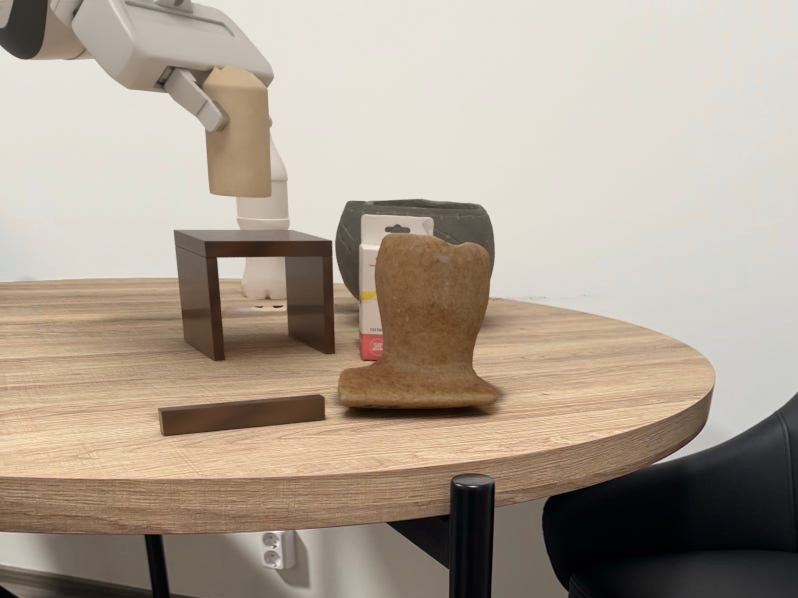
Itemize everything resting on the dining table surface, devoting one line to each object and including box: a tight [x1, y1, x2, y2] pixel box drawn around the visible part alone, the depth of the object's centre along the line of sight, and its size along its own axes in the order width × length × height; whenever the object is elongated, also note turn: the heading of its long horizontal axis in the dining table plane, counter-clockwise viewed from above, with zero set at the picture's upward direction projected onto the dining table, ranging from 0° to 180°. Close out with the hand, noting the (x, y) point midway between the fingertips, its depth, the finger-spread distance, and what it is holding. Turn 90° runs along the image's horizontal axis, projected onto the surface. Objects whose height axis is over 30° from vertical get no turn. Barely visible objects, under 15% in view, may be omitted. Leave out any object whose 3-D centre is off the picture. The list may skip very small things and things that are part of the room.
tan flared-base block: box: [337, 233, 500, 410], centre depth 86 cm, size 15×12×15 cm
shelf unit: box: [173, 229, 336, 362], centre depth 106 cm, size 14×12×12 cm
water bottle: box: [235, 125, 291, 309], centre depth 129 cm, size 7×7×25 cm
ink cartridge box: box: [358, 214, 434, 361], centre depth 104 cm, size 9×5×15 cm, turn 100°
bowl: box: [334, 198, 496, 302], centre depth 124 cm, size 21×21×15 cm
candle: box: [202, 66, 272, 198], centre depth 83 cm, size 6×6×10 cm
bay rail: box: [157, 393, 326, 436], centre depth 79 cm, size 14×1×2 cm, turn 121°
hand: (243, 128), depth 82 cm, fingers closed on candle, 5 cm apart
